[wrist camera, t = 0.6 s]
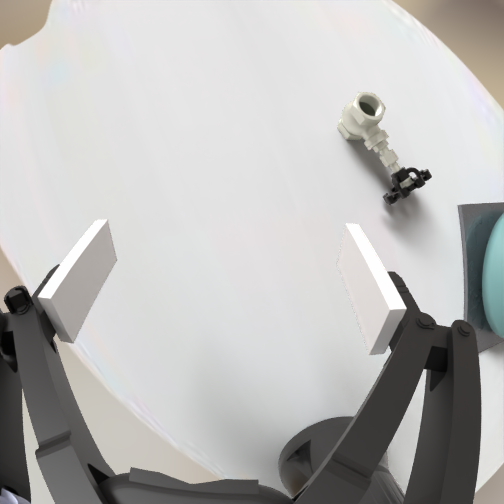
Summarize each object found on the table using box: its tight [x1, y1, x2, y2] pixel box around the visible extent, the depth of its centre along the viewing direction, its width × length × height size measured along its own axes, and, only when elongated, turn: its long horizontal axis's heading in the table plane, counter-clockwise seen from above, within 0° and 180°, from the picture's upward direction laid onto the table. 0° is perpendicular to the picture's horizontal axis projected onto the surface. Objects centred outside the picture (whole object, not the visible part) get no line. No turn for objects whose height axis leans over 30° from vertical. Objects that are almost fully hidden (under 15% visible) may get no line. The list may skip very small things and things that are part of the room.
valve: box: [337, 92, 432, 205], centre depth 30 cm, size 7×7×12 cm
